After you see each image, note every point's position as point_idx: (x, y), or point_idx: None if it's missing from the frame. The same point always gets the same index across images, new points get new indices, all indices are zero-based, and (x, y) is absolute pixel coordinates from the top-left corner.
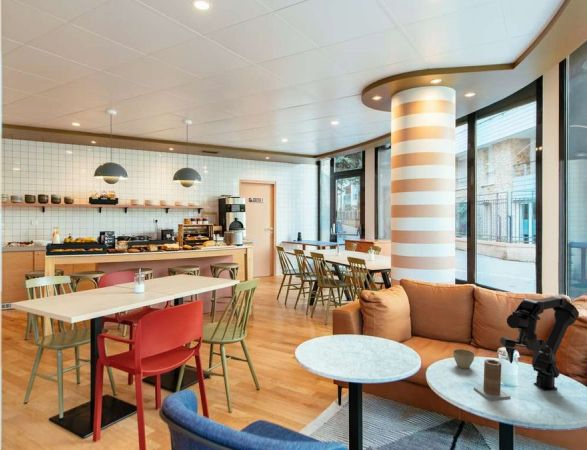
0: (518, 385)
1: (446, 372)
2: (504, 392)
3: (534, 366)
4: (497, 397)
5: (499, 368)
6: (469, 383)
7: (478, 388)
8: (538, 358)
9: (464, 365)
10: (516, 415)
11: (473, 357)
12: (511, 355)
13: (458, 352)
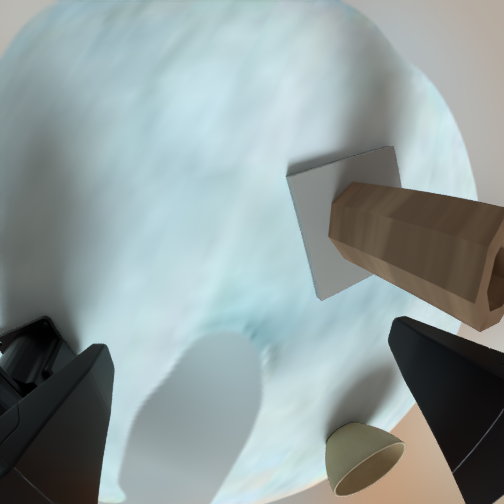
0: (173, 351)
1: None
2: (303, 222)
3: (91, 350)
4: (359, 157)
5: (473, 216)
6: (396, 303)
7: None
8: (6, 434)
9: (361, 426)
10: (321, 17)
11: (348, 464)
12: (489, 354)
13: (364, 476)
